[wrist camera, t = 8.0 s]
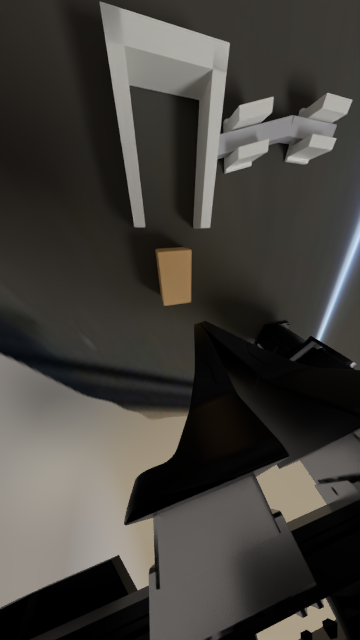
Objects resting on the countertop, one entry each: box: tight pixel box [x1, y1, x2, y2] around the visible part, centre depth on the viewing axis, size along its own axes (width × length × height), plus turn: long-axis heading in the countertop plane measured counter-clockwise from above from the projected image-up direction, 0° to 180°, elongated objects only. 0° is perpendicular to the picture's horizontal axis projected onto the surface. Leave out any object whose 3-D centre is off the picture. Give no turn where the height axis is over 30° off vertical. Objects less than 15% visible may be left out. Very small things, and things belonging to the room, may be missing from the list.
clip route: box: [217, 93, 352, 174], centre depth 12 cm, size 12×4×2 cm, turn 89°
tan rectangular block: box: [155, 247, 192, 306], centre depth 16 cm, size 4×6×4 cm, turn 2°
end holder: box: [99, 1, 230, 228], centre depth 11 cm, size 8×10×2 cm
